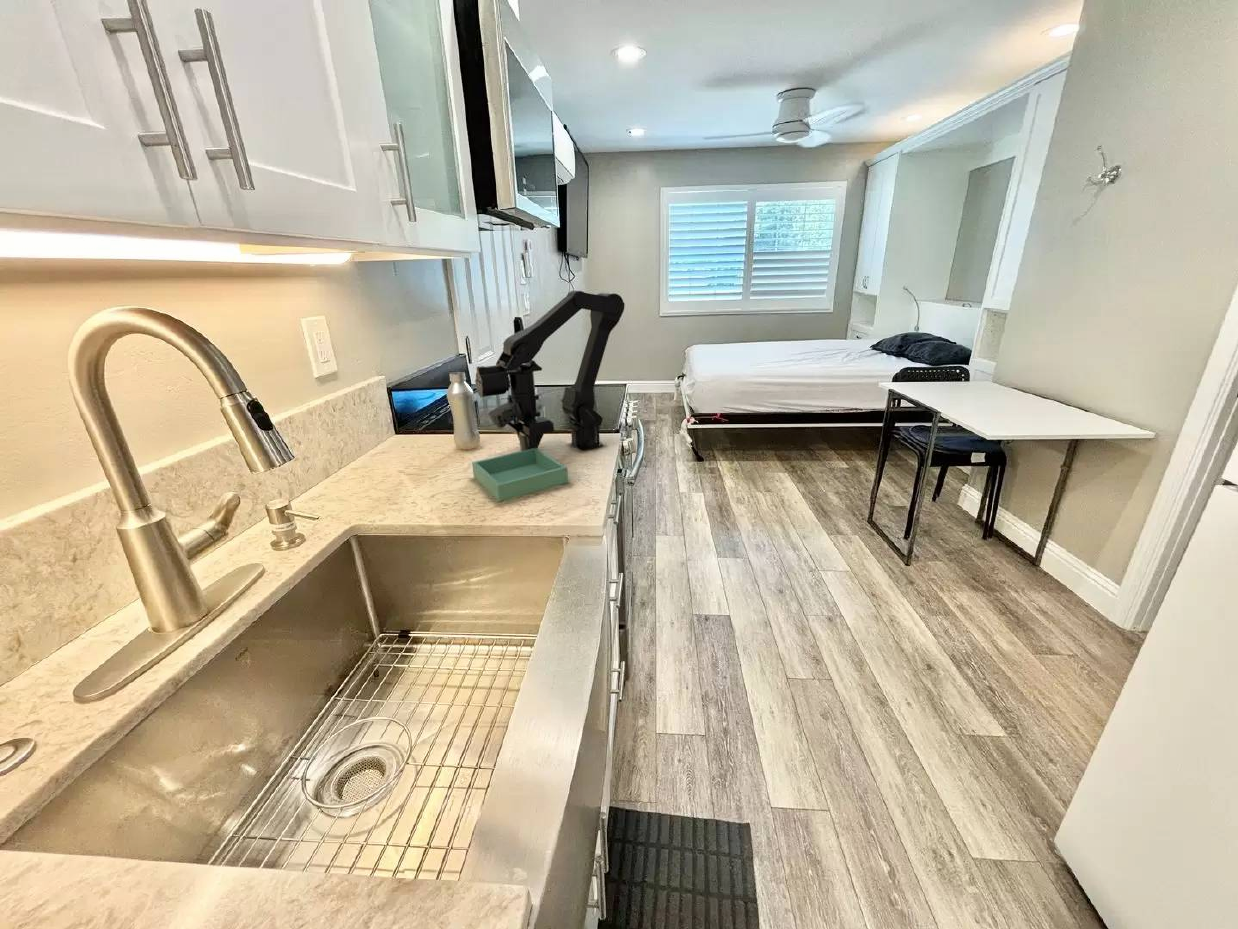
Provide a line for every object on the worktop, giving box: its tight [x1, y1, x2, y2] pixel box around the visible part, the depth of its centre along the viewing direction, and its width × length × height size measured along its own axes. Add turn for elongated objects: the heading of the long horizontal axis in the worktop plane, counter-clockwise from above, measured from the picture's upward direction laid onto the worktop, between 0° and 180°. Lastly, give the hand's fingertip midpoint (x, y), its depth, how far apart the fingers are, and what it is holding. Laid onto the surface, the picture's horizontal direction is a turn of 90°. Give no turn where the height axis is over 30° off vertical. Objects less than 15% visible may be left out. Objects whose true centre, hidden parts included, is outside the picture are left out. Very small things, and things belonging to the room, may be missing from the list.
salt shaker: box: [518, 430, 529, 451], centre depth 121 cm, size 4×4×7 cm
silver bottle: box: [446, 371, 481, 450], centre depth 127 cm, size 6×7×20 cm
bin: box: [471, 448, 569, 502], centre depth 107 cm, size 16×16×4 cm
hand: (529, 452), depth 122 cm, fingers closed on salt shaker, 4 cm apart
